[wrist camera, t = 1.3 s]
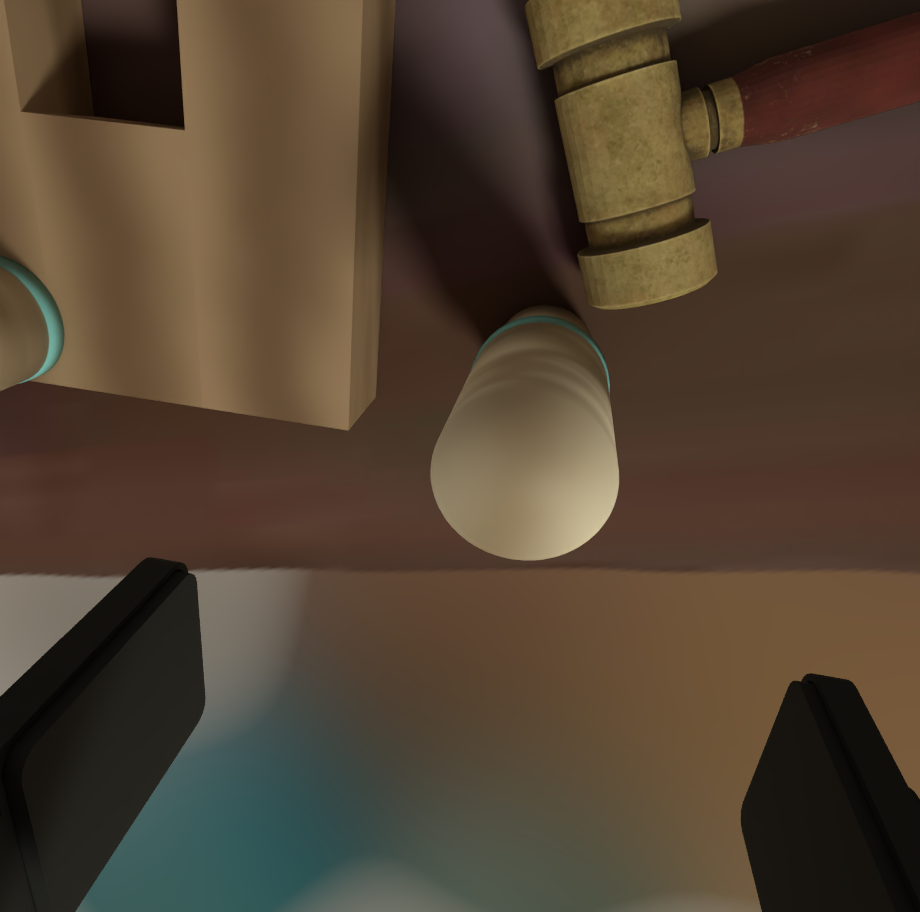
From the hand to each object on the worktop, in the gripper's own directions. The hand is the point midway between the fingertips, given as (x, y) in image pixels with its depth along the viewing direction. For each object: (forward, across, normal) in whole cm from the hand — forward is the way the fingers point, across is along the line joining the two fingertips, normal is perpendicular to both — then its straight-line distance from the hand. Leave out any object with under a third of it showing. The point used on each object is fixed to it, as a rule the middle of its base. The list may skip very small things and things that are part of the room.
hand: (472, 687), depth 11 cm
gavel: (+20, -10, -11) cm, 25 cm away
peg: (+20, 0, 0) cm, 20 cm away
